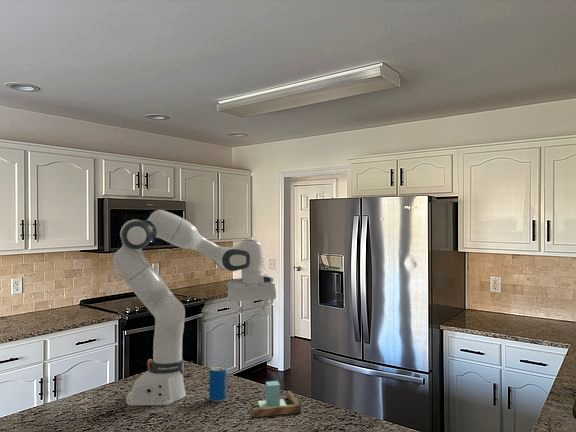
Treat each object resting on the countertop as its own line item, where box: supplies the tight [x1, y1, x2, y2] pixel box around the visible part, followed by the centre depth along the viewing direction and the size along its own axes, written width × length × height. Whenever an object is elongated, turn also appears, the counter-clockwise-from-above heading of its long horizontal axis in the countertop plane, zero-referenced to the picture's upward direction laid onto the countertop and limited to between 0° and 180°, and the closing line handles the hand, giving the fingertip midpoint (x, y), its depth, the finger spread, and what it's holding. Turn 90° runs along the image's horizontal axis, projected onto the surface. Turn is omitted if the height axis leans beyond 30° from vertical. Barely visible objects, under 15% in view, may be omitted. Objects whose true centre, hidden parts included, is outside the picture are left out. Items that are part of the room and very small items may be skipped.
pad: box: [257, 398, 287, 408], centre depth 167 cm, size 10×10×1 cm
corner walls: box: [252, 390, 302, 418], centre depth 166 cm, size 17×15×2 cm
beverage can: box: [208, 365, 227, 403], centre depth 173 cm, size 6×6×12 cm
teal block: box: [265, 380, 281, 407], centre depth 167 cm, size 4×4×8 cm
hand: (252, 311), depth 189 cm, fingers open, 8 cm apart
